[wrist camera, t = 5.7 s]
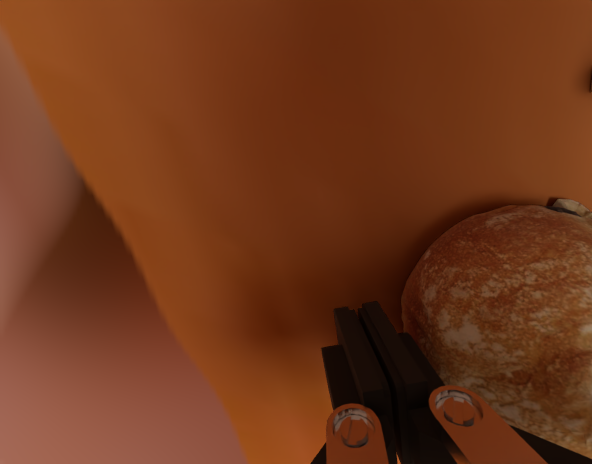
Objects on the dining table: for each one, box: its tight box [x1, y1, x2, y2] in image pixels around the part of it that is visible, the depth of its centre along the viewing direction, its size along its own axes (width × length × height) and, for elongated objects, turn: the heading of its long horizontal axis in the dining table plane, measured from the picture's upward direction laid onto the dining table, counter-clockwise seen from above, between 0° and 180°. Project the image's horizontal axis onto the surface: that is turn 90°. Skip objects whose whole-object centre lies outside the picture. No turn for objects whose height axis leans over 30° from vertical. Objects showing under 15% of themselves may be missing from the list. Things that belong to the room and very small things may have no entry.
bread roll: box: [401, 199, 592, 459], centre depth 11 cm, size 10×10×8 cm
